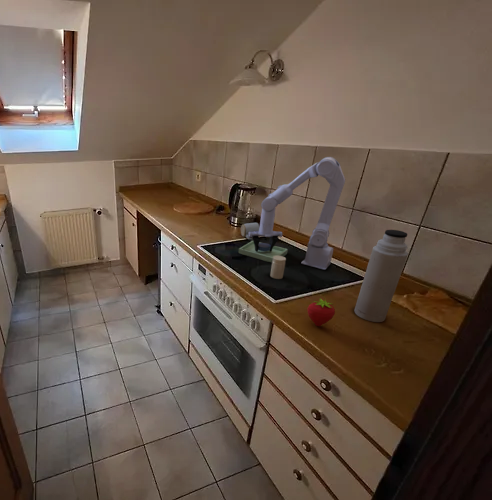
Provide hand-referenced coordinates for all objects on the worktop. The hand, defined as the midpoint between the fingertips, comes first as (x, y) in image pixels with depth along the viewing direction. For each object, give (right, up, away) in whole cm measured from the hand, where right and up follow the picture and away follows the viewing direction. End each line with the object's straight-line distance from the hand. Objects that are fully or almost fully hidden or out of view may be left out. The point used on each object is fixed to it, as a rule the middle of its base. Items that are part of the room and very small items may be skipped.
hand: (263, 250), depth 140 cm
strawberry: (-4, -23, -49) cm, 55 cm away
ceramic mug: (+1, +7, +20) cm, 21 cm away
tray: (0, -1, +1) cm, 1 cm away
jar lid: (0, +2, -1) cm, 3 cm away
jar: (-3, -10, -20) cm, 23 cm away
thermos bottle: (+15, -20, -45) cm, 52 cm away
